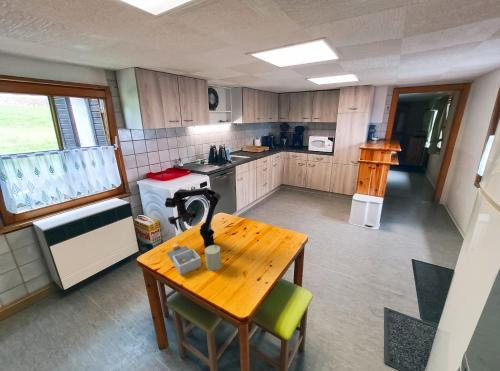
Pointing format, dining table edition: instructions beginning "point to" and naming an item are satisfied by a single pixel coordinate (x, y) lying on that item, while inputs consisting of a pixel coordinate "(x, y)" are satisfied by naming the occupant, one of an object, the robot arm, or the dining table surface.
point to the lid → (176, 250)
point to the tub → (186, 261)
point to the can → (213, 257)
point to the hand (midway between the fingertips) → (184, 227)
